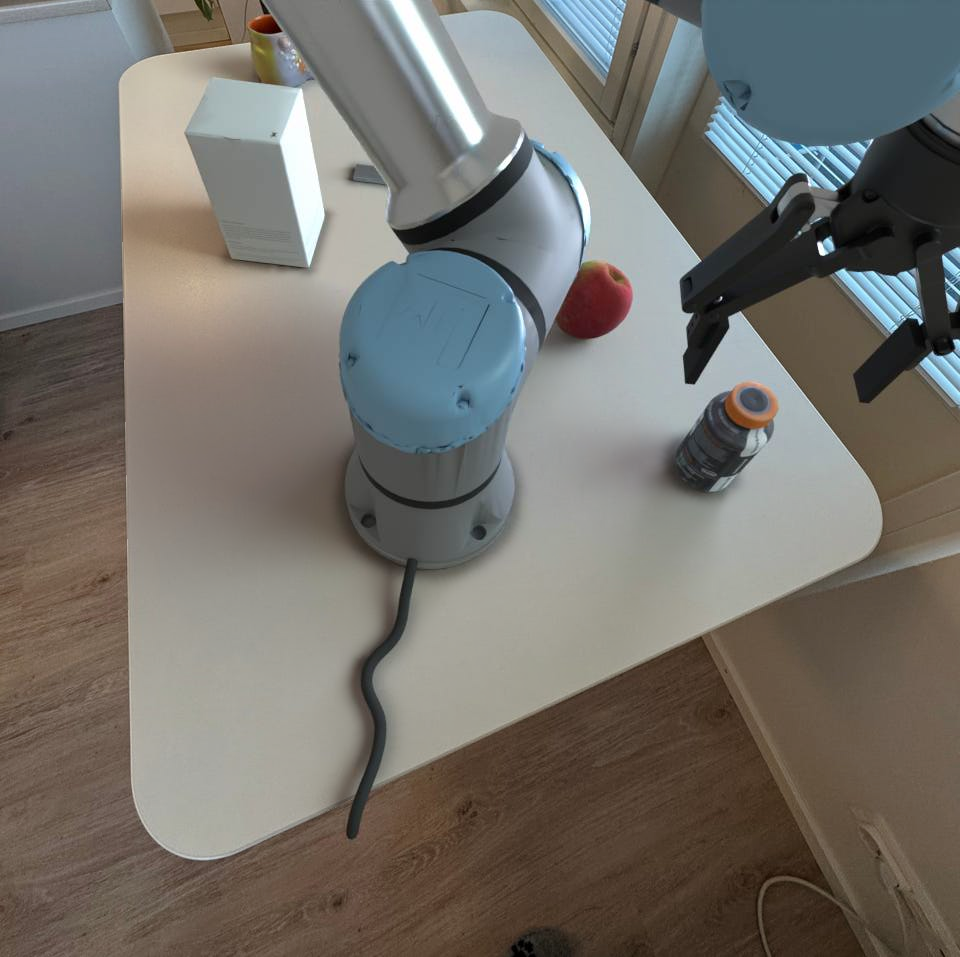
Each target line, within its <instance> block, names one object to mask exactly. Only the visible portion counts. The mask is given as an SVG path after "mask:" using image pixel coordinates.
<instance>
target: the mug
mask: <svg viewBox="0 0 960 957" xmlns="http://www.w3.org/2000/svg"><path fill="white" fill-rule="evenodd" d="M246 29H247V33H248V34H249V39H250V57H251V62H252V66H253V68H254V71H255V73H256V75H257V77H258V78H259V79H260V80H261V82H260V83H262V84H270V85H279V86H287V87H295V88H296V87H298V86H300V85H302V84H303V83H304V82H306V81H307V80H311V79H315V78H314V77H313V75H312V74H311V72H310V71H309V70H308V68H307V67H306V65H305V64H304V62H303V61H302V59H301V58H300V56H299V55H298V53H297V52H296V50H295V49H294V47H293V46H292V45H291V43H290V42H289V40H288V39H287V37H286V36H285V34H284V33H283V31H282V30H281V28H280V27H279V25H278V24H277V22H276V21H275V20H274V18H273V17H272V15H271V14H270V13H269V14H261V15H258V16H256V17H253V18H252V19H250V20H249V21H248V22H247V23H246Z"/></svg>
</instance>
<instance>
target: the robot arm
mask: <svg viewBox="0 0 960 957" xmlns="http://www.w3.org/2000/svg"><path fill="white" fill-rule="evenodd" d="M645 1H646V2H648V3H650V4H653V5H655V6H656V7H659V9H662V10H663V11H665V12H667V13H669V14H671V15H672V16H674V17H676V18H678V19H680V20H682V21H684V22H687V23H688V24H690V25H692V26H695V27H697V28H699V29H701V41H702V46H703V52H704V57H705V62H706V66H707V69H708V72H709V74H710V75H711V77H712V79H713V80H714V82H715V84H716V86H717V88H718V90H719V91H720V93H721V95H722V96H723V98H724V99H725V100H726V102H728V104H729V105H730V106H731V108H732V109H733V110H734V111H735V112H736V115H737V117H738V118H740V119H741V120H742V121H743V122H744V123H745V124H746V125H748V126H749V127H750V128H753V129H755V130H756V131H757V132H759V133H761V134H762V135H765V136H768V137H770V138H772V139H775V140H777V141H781V142H785V143H789V144H793V145H799V146H807V147H836V146H843V145H844V146H845V145H852V144H856V143H861V142H866V141H870V140H871V141H870V143H869V144H868V145H867V148H866V149H865V151H864V153H863V155H862V158H861V160H860V162H859V164H858V167H857V169H856V171H855V172H854V174H853V176H851V178H850V179H848V180H847V181H846V182H845V183H844V184H842V185H840V187H838V188H836V189H835V190H831V189H826V188H823V187H818V186H813V185H811V183H810V179H809V176H808V174H806V173H804V172H796V173H794V174H792V175H791V176H789V177H788V179H786V181H785V182H784V183H783V185H782V187H781V188H780V189H779V191H778V192H777V193H776V194H775V196H774V198H773V200H772V201H771V202H770V203H769V205H768V206H766V207H765V208H764V209H762V211H760V212H759V213H757V214H756V215H755V216H754V217H753V218H751V219H750V220H749V221H748V222H746V224H743V226H742V227H741V228H740V229H738V230H737V231H735V233H734V234H732V235H731V236H730V237H729V238H727V239H726V240H725V241H724V242H722V243H721V244H720V245H718V247H716V248H715V249H714V250H713V251H711V253H709V254H708V255H707V256H705V257H704V258H703V259H702V260H701V261H699V262H698V263H697V264H696V265H695V266H694V267H692V268H691V269H690V270H688V271H687V272H686V273H685V274H684V275H682V276H681V278H680V279H679V294H680V303H681V304H680V306H681V310H682V312H683V313H685V314H686V315H687V314H692V315H691V317H690V319H689V321H688V323H687V325H686V327H685V333H686V334H685V335H686V344H687V346H686V349H685V351H684V352H683V355H682V363H683V364H682V366H683V377H684V384H685V385H692V386H693V385H696V383H697V382H698V380H699V379H700V377H701V375H702V374H703V372H704V371H705V368H706V367H707V366H708V364H709V362H710V361H711V359H712V357H713V356H714V354H715V352H716V351H717V349H718V347H719V346H720V344H721V343H722V341H723V339H724V337H725V336H726V335H727V333H728V331H729V330H730V320H729V317H731V316H734V315H736V314H737V313H740V312H742V311H744V310H746V309H748V308H750V307H753V306H754V305H756V304H758V303H761V302H762V301H765V300H767V299H769V298H772V297H774V296H775V295H777V294H779V293H781V292H784V291H786V290H788V289H790V288H792V287H794V286H796V285H798V284H800V283H802V282H805V281H807V280H809V279H811V278H817V279H825V278H827V277H829V276H831V275H834V274H835V273H837V272H840V271H842V270H844V269H845V271H846V272H853V273H867V272H875V273H877V274H880V275H883V276H886V277H887V276H889V277H897V276H898V275H899V274H900V273H905V272H909V271H912V272H913V277H914V282H915V287H916V292H917V293H916V294H917V298H918V304H919V308H920V313H921V314H920V315H921V318H922V322H921V323H920V322H919V319H918V318H912V317H906V318H905V320H903V321H902V322H901V323H900V324H899V326H898V327H896V329H895V330H894V331H893V332H892V333H891V334H890V335H889V336H888V337H887V338H886V339H885V340H884V341H883V342H882V343H881V344H880V346H878V348H877V349H875V350H874V351H873V353H872V354H871V355H870V356H868V358H866V360H865V361H864V362H863V363H862V364H861V365H860V366H859V367H858V368H857V369H856V370H855V371H854V372H853V373H852V377H853V381H854V385H855V389H856V393H857V397H858V398H857V399H858V402H859V403H860V404H871V403H872V401H874V400H875V399H876V398H877V397H878V396H879V395H880V394H881V393H882V392H883V391H885V389H887V387H889V386H890V385H891V384H892V383H893V382H894V381H895V380H896V379H897V378H898V377H899V376H900V375H902V374H903V372H904V371H905V372H909V371H911V370H913V369H915V368H916V367H918V366H919V365H920V364H921V362H923V361H924V360H925V359H926V358H927V357H928V356H930V355H931V353H933V355H934V356H935V357H946V356H947V355H951V354H952V353H953V352H954V351H956V344H955V342H954V341H955V340H960V296H959V297H958V299H957V303H956V306H955V309H954V311H951V312H950V311H949V306H948V298H947V297H948V296H947V290H946V285H945V283H946V276H945V267H944V260H943V255H945V254H947V253H949V252H951V251H953V250H956V249H958V248H959V247H960V0H645ZM261 2H262V4H263V5H264V6H265V8H266V9H267V11H268V13H269V14H271V15H272V17H273V18H274V20H275V21H276V22H277V24H278V25H279V27H280V28H281V30H282V31H283V33H284V34H285V36H286V37H287V39H288V40H289V42H290V43H291V45H292V46H293V47H294V49H295V50H296V52H297V53H298V55H299V56H300V58H301V59H302V61H303V62H304V64H305V65H306V67H307V68H308V70H309V71H310V72H311V74H312V75H313V77H314V78H313V79H314V80H315V81H316V83H317V84H318V87H320V89H321V90H322V92H323V93H324V95H325V96H326V98H327V100H329V102H330V103H331V105H332V107H333V108H334V109H335V111H336V112H337V114H338V115H339V116H340V118H341V120H342V121H343V123H344V124H345V126H346V127H347V129H348V130H349V131H350V133H351V134H352V136H353V138H354V139H355V140H356V141H357V143H358V145H359V147H360V148H361V149H362V151H363V152H364V153H365V155H366V156H367V158H368V159H369V161H370V162H371V164H372V166H374V167H375V168H376V170H377V171H378V173H379V174H380V175H381V177H382V178H383V180H384V181H385V183H386V184H387V185H386V184H385V185H386V186H387V196H386V204H385V211H384V219H385V221H386V223H387V225H388V226H389V228H390V229H391V230H392V232H393V233H394V235H395V237H396V238H397V239H398V240H399V241H400V243H401V244H402V246H403V247H404V249H405V250H406V251H407V253H408V254H407V255H406V258H405V262H402V263H397V262H396V261H394V260H389V261H388V262H387V263H385V264H383V265H381V266H380V267H378V268H377V269H375V270H373V272H372V273H371V274H369V275H368V276H367V277H365V279H364V280H363V281H362V282H361V284H359V286H358V287H357V288H356V290H355V291H354V292H353V294H352V295H351V298H350V299H349V301H348V303H347V305H346V307H345V310H344V311H343V315H342V319H341V324H340V328H339V337H338V347H339V351H338V360H339V361H338V368H339V382H340V386H341V389H342V393H343V396H344V399H345V401H346V404H347V408H348V412H349V416H350V422H351V426H352V431H353V437H354V441H355V448H354V450H353V452H352V454H351V456H350V458H349V461H348V464H347V467H346V472H345V477H344V478H345V479H344V497H345V498H344V499H345V504H346V507H347V511H348V514H349V518H350V520H351V523H352V525H353V527H354V529H355V531H356V533H357V534H358V535H359V536H360V538H361V539H362V541H364V542H365V543H366V545H367V546H368V547H369V548H370V549H372V550H373V551H374V552H376V553H377V554H378V555H380V556H381V557H383V558H384V559H386V560H388V561H390V562H393V563H394V564H398V565H401V566H403V567H405V569H404V573H403V578H402V582H401V587H400V592H399V597H398V603H397V604H398V605H397V611H396V617H395V621H394V625H393V627H392V630H391V631H390V633H389V635H388V636H387V637H386V639H385V640H384V641H383V642H382V643H381V644H380V645H379V646H378V647H377V648H375V649H374V650H373V651H372V653H370V655H369V656H368V657H367V659H366V660H365V662H364V665H363V666H362V670H361V673H360V689H361V693H362V695H363V698H364V702H365V703H366V705H367V707H368V709H369V712H370V714H371V716H372V721H373V727H374V728H373V729H374V730H373V740H372V746H371V751H370V754H369V758H368V761H367V764H366V767H365V769H364V771H363V774H362V777H361V780H360V782H359V784H358V787H357V789H356V792H355V795H354V797H353V800H352V803H351V807H350V810H349V813H348V818H347V823H346V829H345V833H346V834H345V835H346V837H347V839H348V840H351V841H352V840H354V839H357V836H358V835H359V833H360V827H361V822H362V818H363V813H364V810H365V806H366V804H367V801H368V798H369V796H370V793H371V791H372V788H373V785H374V783H375V780H376V778H377V775H378V772H379V770H380V766H381V764H382V760H383V756H384V753H385V748H386V740H387V730H388V729H387V719H386V718H387V717H386V715H385V711H384V709H383V706H382V704H381V702H380V700H379V698H378V696H377V694H376V691H375V689H374V688H375V687H374V684H373V677H374V672H375V670H376V668H377V666H378V664H380V662H381V661H382V660H383V659H384V658H385V657H386V656H387V655H388V654H389V653H390V652H391V651H392V650H393V649H394V648H395V647H396V646H397V644H398V643H399V642H400V640H401V638H402V637H403V634H404V632H405V629H406V626H407V622H408V617H409V611H410V604H411V598H412V593H413V588H414V583H415V577H416V575H417V574H416V573H417V569H419V570H441V569H447V568H452V567H456V566H459V565H461V564H464V563H466V562H470V561H471V560H473V559H475V558H477V557H478V556H479V555H481V554H482V553H484V552H485V551H486V550H487V549H489V548H490V547H491V546H492V545H494V543H495V542H496V540H497V539H498V538H499V537H500V536H501V534H502V533H503V531H504V529H505V527H506V525H507V523H508V521H509V518H510V515H511V512H512V509H513V504H514V500H515V491H516V490H515V487H516V486H515V476H514V471H513V466H512V462H511V460H510V458H509V455H508V453H507V450H506V449H505V443H506V440H507V434H508V430H509V425H510V423H511V418H512V416H513V412H514V409H515V407H516V405H517V402H518V400H519V397H520V396H521V392H522V390H523V388H524V386H525V385H526V382H527V379H528V378H529V376H530V373H531V371H532V369H533V366H534V364H535V362H536V360H537V358H538V355H539V353H540V351H541V349H542V347H543V345H544V343H545V341H546V339H547V336H548V335H549V333H550V330H551V328H552V326H553V324H554V322H555V318H556V316H557V314H558V311H559V309H560V307H561V305H562V303H563V301H564V299H565V297H566V295H567V293H568V291H569V289H570V287H571V285H572V283H573V282H574V280H575V279H576V277H577V273H578V271H579V270H580V267H581V265H582V263H584V258H585V251H586V248H587V245H588V241H589V237H590V232H591V209H590V208H591V207H590V202H589V199H588V195H587V192H586V189H585V187H584V184H583V183H582V181H581V179H580V177H579V175H578V174H577V172H576V171H575V169H574V167H572V165H571V164H570V163H569V162H568V161H567V160H566V159H565V157H564V156H562V155H561V154H560V153H559V152H557V151H553V152H550V151H548V150H547V149H545V147H546V146H545V144H544V143H542V142H540V141H537V140H534V139H531V138H529V137H528V134H527V133H526V130H525V128H524V126H523V125H522V123H521V122H520V120H518V119H515V118H512V117H508V116H504V115H500V114H496V113H493V112H492V111H491V110H489V109H488V107H487V105H486V103H485V101H484V99H483V96H482V95H481V93H480V91H479V90H478V87H477V86H476V83H475V81H474V80H473V77H472V75H471V74H470V72H469V70H468V68H467V66H466V65H465V62H464V60H463V58H462V57H461V55H460V53H459V51H458V49H457V47H456V45H455V43H454V41H453V39H452V38H451V35H450V33H449V32H448V30H447V27H446V26H445V24H444V22H443V19H442V18H441V16H440V14H439V12H438V10H437V8H436V7H435V4H434V3H433V0H261ZM799 232H800V235H799V236H798V237H796V236H797V235H798V234H799ZM795 237H796V238H795ZM828 238H831V242H832V247H833V250H832V251H830V252H828V253H825V249H824V248H825V247H824V241H826V239H828Z"/></svg>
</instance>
